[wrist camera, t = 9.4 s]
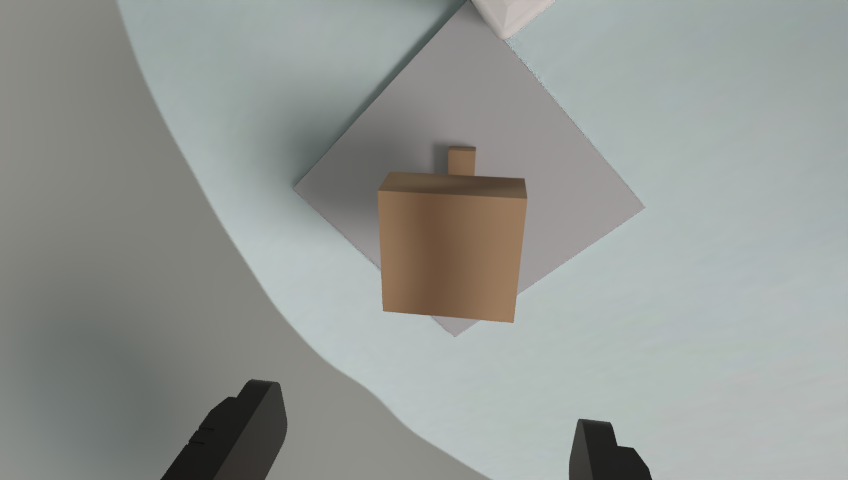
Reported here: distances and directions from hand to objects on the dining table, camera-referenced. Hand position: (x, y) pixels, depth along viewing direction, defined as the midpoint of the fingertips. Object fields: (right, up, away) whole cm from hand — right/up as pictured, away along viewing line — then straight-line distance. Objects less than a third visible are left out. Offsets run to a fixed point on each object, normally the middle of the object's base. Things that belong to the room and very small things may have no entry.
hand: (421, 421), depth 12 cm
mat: (+2, +7, +14) cm, 16 cm away
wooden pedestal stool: (+2, +7, +14) cm, 15 cm away
